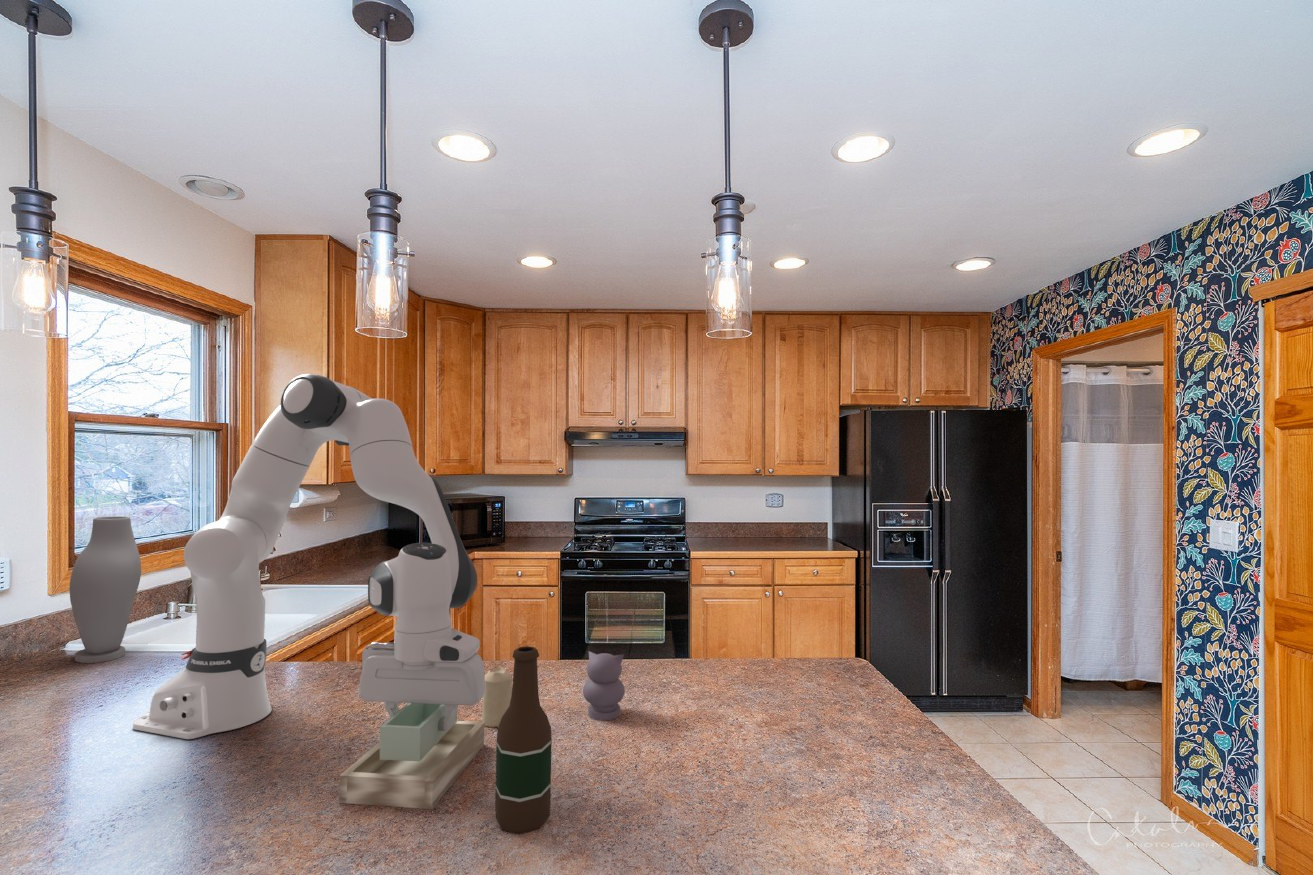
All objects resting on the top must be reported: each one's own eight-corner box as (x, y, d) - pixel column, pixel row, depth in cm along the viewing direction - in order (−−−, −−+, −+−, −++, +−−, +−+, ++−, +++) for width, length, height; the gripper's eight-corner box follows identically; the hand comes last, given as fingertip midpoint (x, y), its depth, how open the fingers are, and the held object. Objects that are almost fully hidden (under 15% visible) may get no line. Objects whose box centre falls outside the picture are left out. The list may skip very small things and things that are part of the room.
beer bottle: (499, 804, 92) (502, 641, 93) (552, 802, 92) (555, 640, 93) (489, 836, 84) (493, 657, 85) (547, 834, 85) (550, 657, 85)
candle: (503, 728, 117) (504, 675, 118) (476, 725, 118) (478, 673, 119) (515, 716, 123) (516, 665, 123) (490, 714, 124) (491, 663, 124)
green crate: (379, 759, 95) (380, 726, 95) (422, 719, 109) (422, 691, 109) (419, 761, 94) (420, 728, 94) (457, 721, 108) (457, 692, 108)
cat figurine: (576, 719, 122) (577, 657, 122) (590, 703, 129) (591, 646, 130) (617, 724, 120) (617, 661, 120) (629, 708, 127) (630, 649, 128)
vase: (51, 662, 150) (60, 518, 152) (106, 646, 163) (115, 514, 164) (96, 667, 148) (105, 521, 149) (149, 651, 161) (157, 516, 162)
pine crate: (338, 802, 92) (339, 775, 92) (406, 740, 112) (407, 717, 112) (432, 809, 90) (432, 781, 90) (483, 744, 111) (484, 721, 111)
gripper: (352, 647, 100) (350, 734, 99) (475, 651, 98) (473, 740, 98) (373, 636, 106) (371, 717, 106) (489, 639, 104) (488, 722, 104)
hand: (421, 728), depth 102 cm, fingers closed on green crate, 6 cm apart
